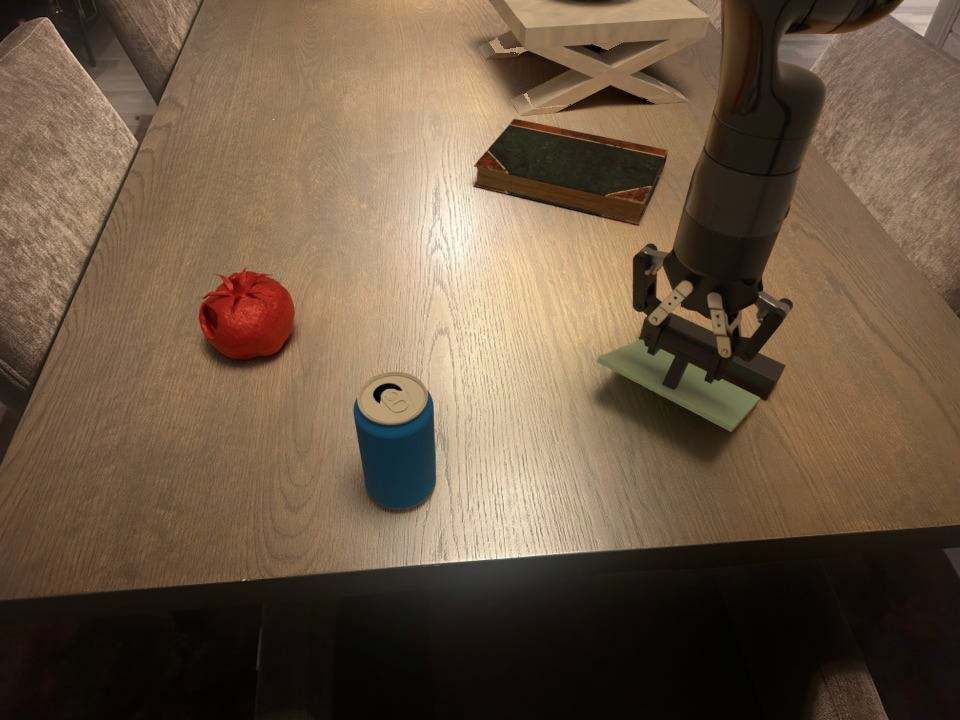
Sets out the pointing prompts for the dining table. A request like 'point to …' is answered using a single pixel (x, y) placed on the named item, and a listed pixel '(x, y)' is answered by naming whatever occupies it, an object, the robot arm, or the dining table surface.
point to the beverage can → (396, 439)
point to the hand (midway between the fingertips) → (682, 363)
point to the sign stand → (746, 375)
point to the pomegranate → (247, 315)
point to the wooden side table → (596, 20)
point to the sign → (683, 377)
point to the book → (572, 170)
